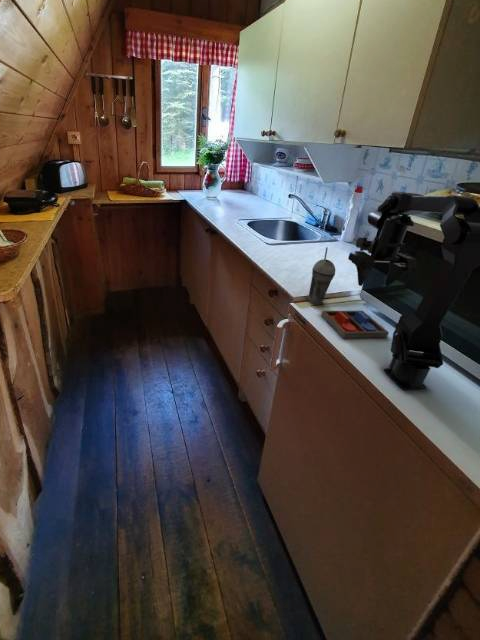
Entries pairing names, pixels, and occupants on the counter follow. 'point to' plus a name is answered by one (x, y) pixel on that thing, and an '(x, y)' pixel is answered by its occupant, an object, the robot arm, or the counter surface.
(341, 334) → the tray
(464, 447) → the counter surface
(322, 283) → the beverage cup
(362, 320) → the blue spoon
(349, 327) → the red spoon
